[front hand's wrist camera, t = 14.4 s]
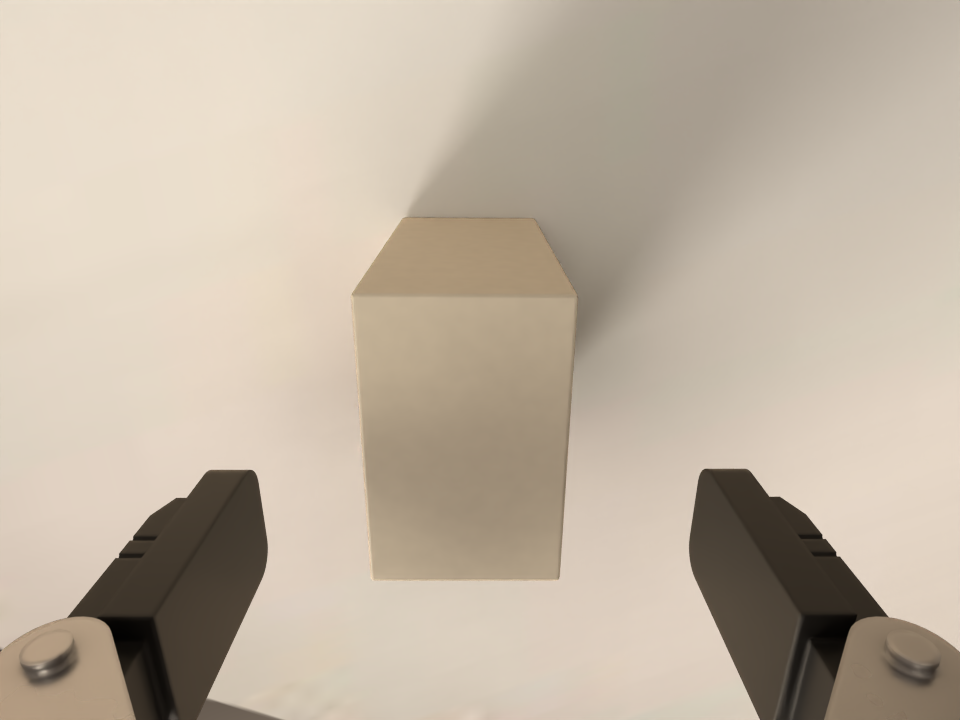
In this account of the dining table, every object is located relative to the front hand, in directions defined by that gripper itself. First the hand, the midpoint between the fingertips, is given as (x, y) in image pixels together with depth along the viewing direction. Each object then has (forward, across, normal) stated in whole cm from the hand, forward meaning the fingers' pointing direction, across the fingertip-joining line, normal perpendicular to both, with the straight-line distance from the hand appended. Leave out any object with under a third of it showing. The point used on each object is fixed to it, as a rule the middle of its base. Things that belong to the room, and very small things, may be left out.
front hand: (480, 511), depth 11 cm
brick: (+14, 0, -1) cm, 14 cm away
